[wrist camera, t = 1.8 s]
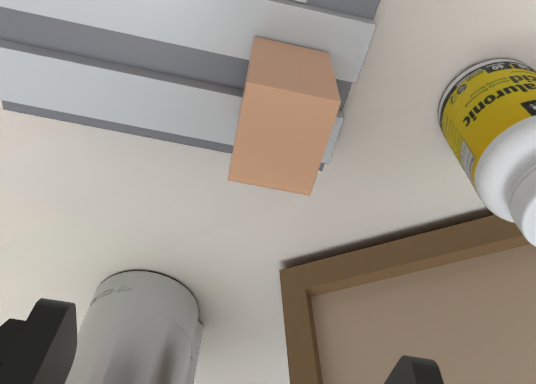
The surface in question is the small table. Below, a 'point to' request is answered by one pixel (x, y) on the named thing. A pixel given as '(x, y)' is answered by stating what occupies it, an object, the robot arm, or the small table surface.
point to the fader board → (165, 60)
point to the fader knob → (284, 117)
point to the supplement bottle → (496, 137)
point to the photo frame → (417, 308)
